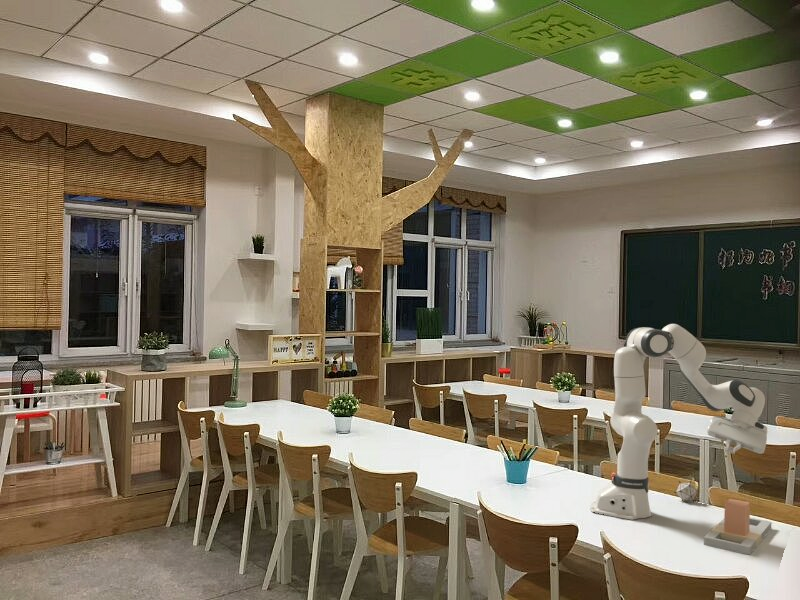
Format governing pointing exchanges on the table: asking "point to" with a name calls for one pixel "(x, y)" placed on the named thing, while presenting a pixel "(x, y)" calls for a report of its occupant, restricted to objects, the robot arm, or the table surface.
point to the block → (737, 517)
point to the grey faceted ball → (686, 491)
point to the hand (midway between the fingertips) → (729, 451)
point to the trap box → (738, 537)
